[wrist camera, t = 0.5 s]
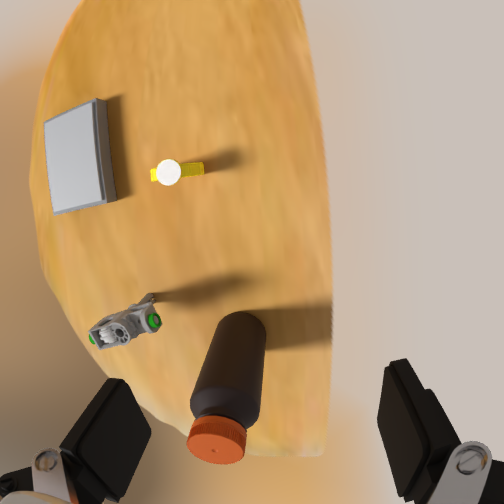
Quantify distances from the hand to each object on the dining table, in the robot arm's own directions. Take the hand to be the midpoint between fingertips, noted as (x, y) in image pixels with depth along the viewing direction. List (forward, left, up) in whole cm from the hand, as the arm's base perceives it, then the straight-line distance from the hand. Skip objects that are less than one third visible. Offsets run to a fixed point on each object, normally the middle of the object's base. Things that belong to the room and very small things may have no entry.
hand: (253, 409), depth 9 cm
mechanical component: (+7, -17, -27) cm, 33 cm away
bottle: (+13, -5, -27) cm, 31 cm away
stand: (-14, -24, -27) cm, 39 cm away
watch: (-9, -9, -28) cm, 30 cm away
